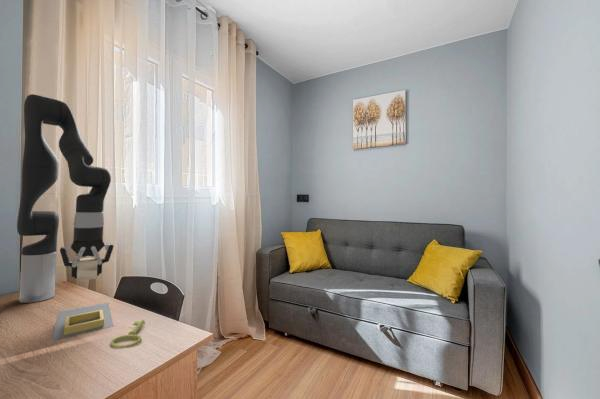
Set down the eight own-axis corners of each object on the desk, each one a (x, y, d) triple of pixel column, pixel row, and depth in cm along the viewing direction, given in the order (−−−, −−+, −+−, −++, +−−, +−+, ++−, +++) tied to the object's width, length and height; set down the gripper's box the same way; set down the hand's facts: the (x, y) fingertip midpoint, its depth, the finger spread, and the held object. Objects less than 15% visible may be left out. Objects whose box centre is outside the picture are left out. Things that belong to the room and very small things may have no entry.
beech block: (76, 277, 84) (77, 259, 84) (96, 274, 87) (96, 257, 87) (76, 281, 80) (77, 262, 80) (96, 278, 83) (97, 260, 83)
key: (144, 325, 78) (145, 318, 78) (140, 346, 67) (140, 338, 67) (116, 330, 75) (116, 323, 75) (107, 353, 64) (107, 344, 64)
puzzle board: (58, 315, 82) (58, 305, 83) (108, 305, 91) (108, 297, 91) (51, 344, 66) (52, 333, 66) (113, 329, 74) (113, 319, 74)
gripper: (114, 224, 91) (112, 270, 91) (60, 225, 82) (57, 277, 82) (116, 226, 86) (114, 275, 85) (58, 227, 76) (55, 283, 76)
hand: (86, 276), depth 83 cm, fingers closed on beech block, 5 cm apart
